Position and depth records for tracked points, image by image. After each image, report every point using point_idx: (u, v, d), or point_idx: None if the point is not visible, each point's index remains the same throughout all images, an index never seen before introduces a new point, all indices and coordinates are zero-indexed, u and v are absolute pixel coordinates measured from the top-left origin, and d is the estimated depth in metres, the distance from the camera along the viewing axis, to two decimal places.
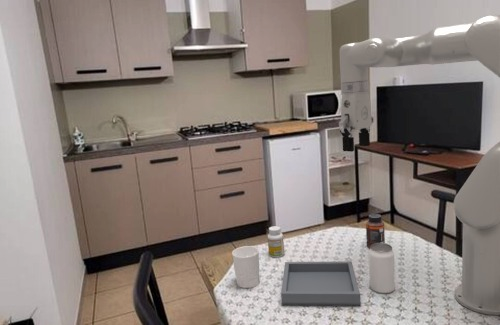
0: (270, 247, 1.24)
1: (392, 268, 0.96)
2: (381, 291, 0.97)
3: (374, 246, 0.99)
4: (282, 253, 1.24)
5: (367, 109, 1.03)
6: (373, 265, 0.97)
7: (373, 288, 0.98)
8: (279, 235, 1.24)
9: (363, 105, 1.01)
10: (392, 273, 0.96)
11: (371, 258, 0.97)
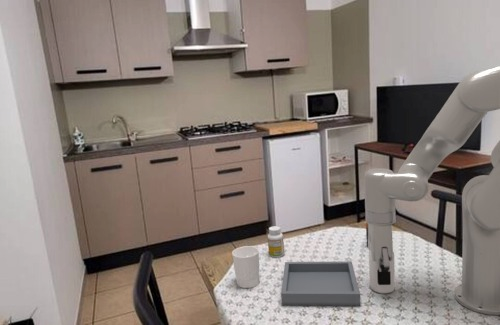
0: (270, 247, 1.24)
1: (392, 268, 0.96)
2: (381, 291, 0.97)
3: None
4: (282, 253, 1.24)
5: (370, 239, 0.96)
6: (373, 265, 0.97)
7: (373, 288, 0.98)
8: (279, 235, 1.24)
9: (369, 231, 0.98)
10: (392, 273, 0.96)
11: (371, 258, 0.97)
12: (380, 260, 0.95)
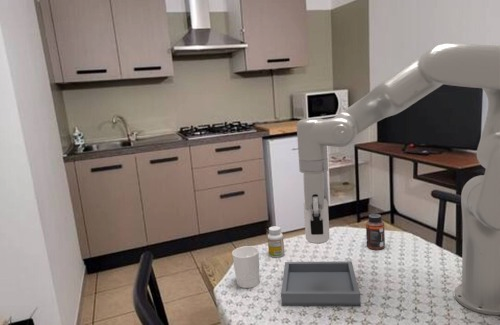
0: (270, 247, 1.24)
1: (325, 218, 0.96)
2: (315, 241, 0.97)
3: None
4: (282, 253, 1.24)
5: None
6: (307, 215, 0.97)
7: (308, 239, 0.98)
8: (279, 235, 1.23)
9: None
10: (325, 223, 0.96)
11: None
12: (312, 209, 0.95)
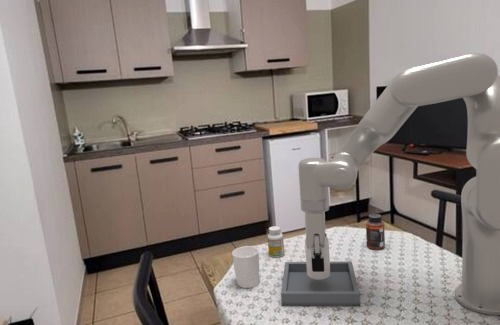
0: (270, 247, 1.24)
1: (326, 255, 0.98)
2: (316, 278, 0.99)
3: None
4: (282, 253, 1.24)
5: (305, 227, 0.98)
6: (308, 252, 0.99)
7: (309, 275, 1.00)
8: (279, 235, 1.23)
9: None
10: (326, 260, 0.98)
11: (306, 246, 0.99)
12: (313, 247, 0.97)
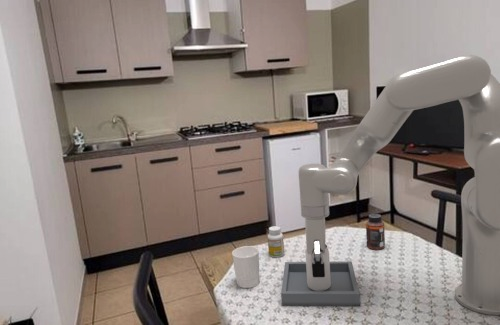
0: (270, 247, 1.24)
1: (326, 267, 0.98)
2: (315, 289, 0.99)
3: None
4: (282, 253, 1.24)
5: None
6: (308, 263, 0.99)
7: (309, 286, 1.01)
8: (279, 235, 1.23)
9: None
10: (326, 272, 0.98)
11: (306, 257, 0.99)
12: (314, 252, 0.96)
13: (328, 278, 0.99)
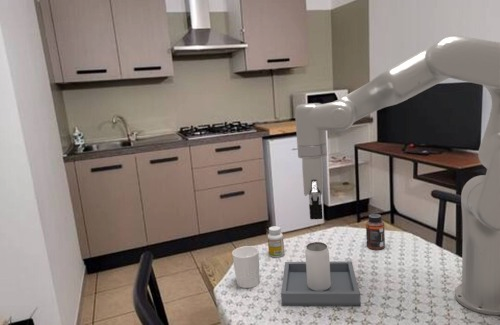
0: (270, 247, 1.24)
1: (326, 267, 0.98)
2: (315, 289, 0.99)
3: (311, 245, 1.01)
4: (282, 253, 1.24)
5: None
6: (308, 263, 0.99)
7: (309, 286, 1.01)
8: (279, 235, 1.24)
9: None
10: (326, 272, 0.98)
11: (306, 257, 0.99)
12: (311, 193, 0.93)
13: (328, 278, 0.99)
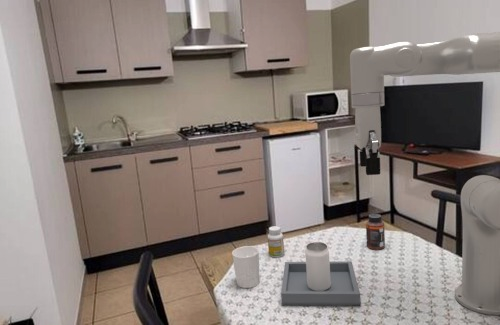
0: (270, 247, 1.24)
1: (326, 267, 0.98)
2: (315, 289, 0.99)
3: (311, 245, 1.01)
4: (282, 253, 1.24)
5: (357, 127, 0.87)
6: (308, 263, 0.99)
7: (309, 286, 1.01)
8: (279, 235, 1.24)
9: None
10: (326, 272, 0.98)
11: (306, 257, 0.99)
12: (368, 146, 0.85)
13: (328, 278, 0.99)
